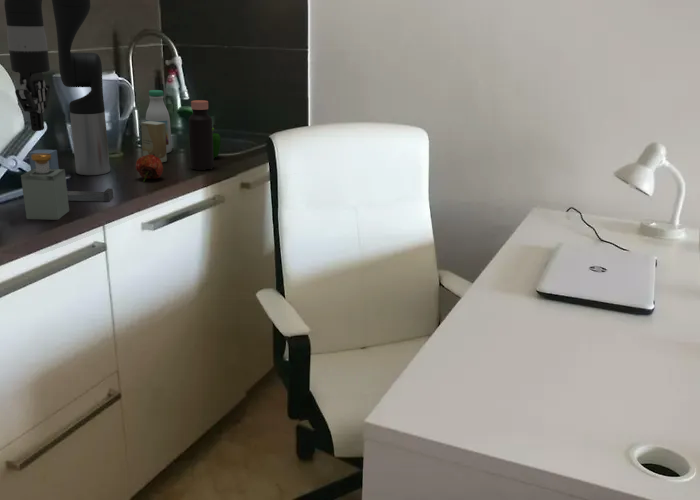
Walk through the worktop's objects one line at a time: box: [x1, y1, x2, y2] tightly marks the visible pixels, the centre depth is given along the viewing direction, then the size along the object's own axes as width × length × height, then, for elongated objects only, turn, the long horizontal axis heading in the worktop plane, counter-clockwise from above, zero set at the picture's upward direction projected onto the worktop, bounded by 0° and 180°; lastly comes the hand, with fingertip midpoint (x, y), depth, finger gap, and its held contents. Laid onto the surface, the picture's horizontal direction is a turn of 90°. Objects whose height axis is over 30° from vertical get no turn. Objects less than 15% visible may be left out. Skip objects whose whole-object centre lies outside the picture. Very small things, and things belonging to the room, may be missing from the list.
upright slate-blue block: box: [28, 149, 60, 170], centre depth 168 cm, size 6×5×12 cm
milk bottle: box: [145, 89, 173, 154], centre depth 224 cm, size 8×8×20 cm
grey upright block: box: [20, 168, 70, 221], centre depth 155 cm, size 7×7×10 cm
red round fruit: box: [135, 154, 164, 183], centre depth 190 cm, size 7×7×10 cm
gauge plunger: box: [31, 153, 51, 175], centre depth 153 cm, size 4×4×7 cm
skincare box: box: [140, 120, 168, 163], centre depth 211 cm, size 6×4×12 cm
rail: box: [67, 188, 114, 202], centre depth 170 cm, size 4×20×2 cm, turn 92°
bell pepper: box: [212, 127, 222, 159], centre depth 218 cm, size 8×8×10 cm
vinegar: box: [188, 99, 215, 171], centre depth 203 cm, size 7×7×20 cm
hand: (38, 130), depth 150 cm, fingers closed
